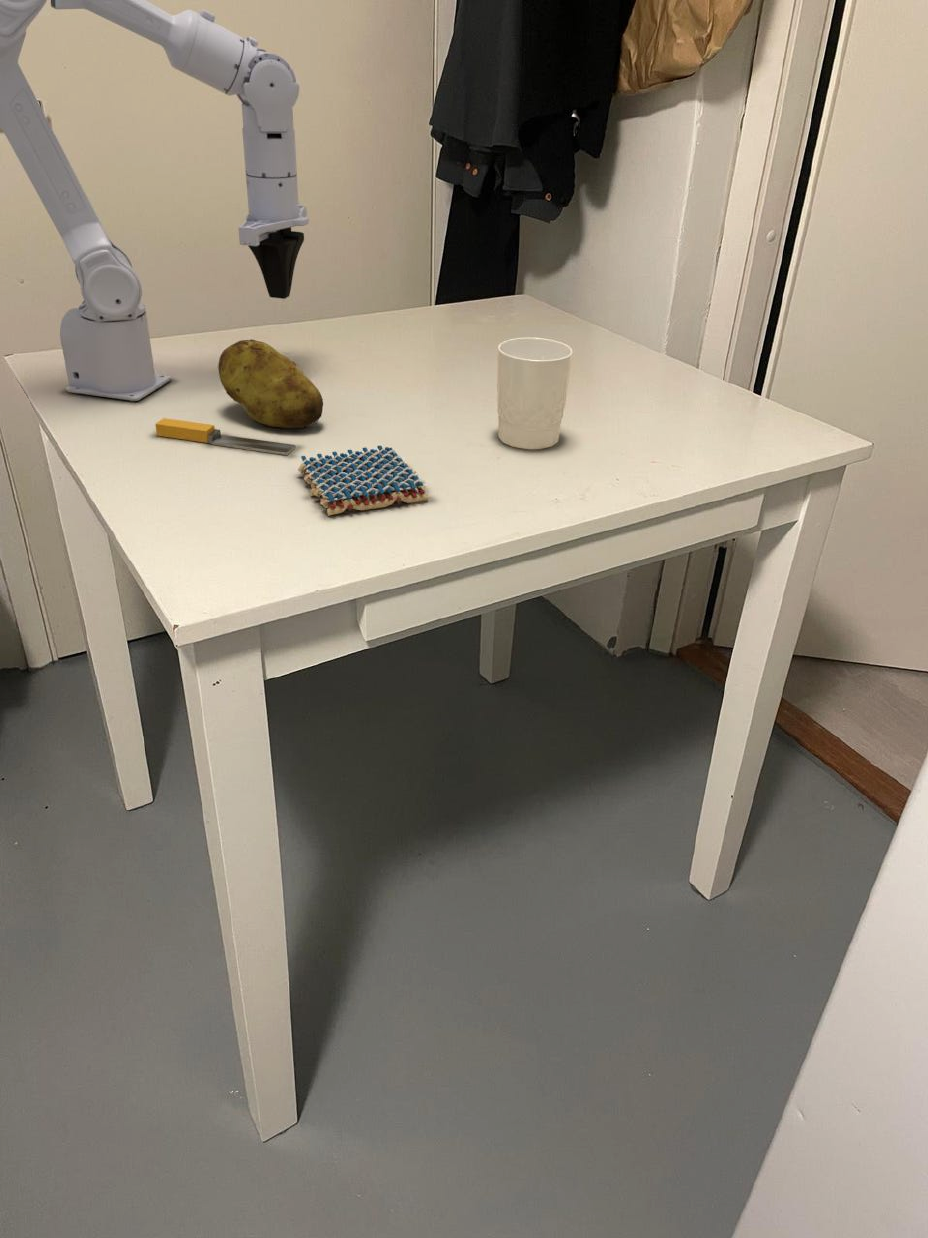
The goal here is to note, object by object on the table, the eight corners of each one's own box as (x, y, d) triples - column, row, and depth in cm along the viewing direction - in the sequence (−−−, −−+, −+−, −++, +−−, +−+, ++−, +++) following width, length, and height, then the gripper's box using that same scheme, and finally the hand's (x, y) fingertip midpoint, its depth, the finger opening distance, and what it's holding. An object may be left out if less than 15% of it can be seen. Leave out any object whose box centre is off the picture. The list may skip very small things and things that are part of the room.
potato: (264, 445, 102) (258, 371, 98) (212, 407, 110) (204, 338, 106) (332, 429, 106) (329, 358, 102) (277, 394, 115) (272, 327, 110)
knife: (155, 436, 103) (153, 424, 102) (166, 429, 105) (164, 416, 104) (287, 455, 100) (286, 442, 99) (295, 447, 102) (294, 435, 101)
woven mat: (326, 520, 88) (325, 500, 87) (295, 473, 96) (294, 455, 95) (431, 503, 92) (432, 483, 91) (393, 460, 100) (393, 441, 99)
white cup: (571, 431, 108) (580, 343, 103) (553, 457, 102) (562, 364, 97) (504, 420, 110) (510, 333, 105) (483, 445, 104) (488, 354, 99)
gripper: (277, 186, 102) (285, 315, 109) (328, 168, 114) (332, 285, 121) (216, 181, 103) (228, 309, 111) (273, 163, 115) (280, 279, 123)
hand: (279, 296), depth 116 cm, fingers closed
